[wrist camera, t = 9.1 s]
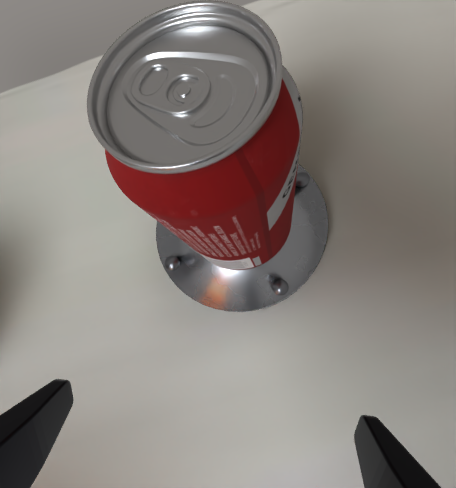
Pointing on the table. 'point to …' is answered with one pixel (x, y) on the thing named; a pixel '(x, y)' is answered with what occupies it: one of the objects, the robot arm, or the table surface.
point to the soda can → (203, 128)
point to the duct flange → (262, 277)
